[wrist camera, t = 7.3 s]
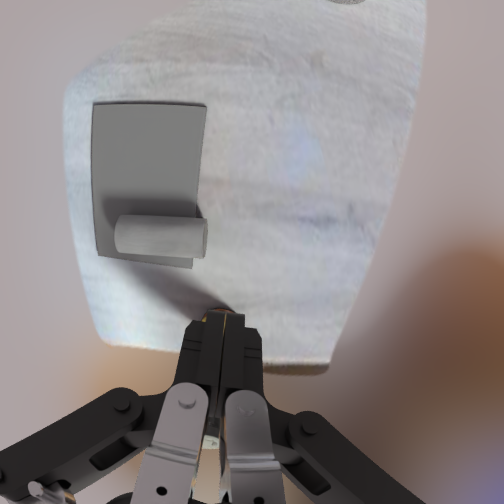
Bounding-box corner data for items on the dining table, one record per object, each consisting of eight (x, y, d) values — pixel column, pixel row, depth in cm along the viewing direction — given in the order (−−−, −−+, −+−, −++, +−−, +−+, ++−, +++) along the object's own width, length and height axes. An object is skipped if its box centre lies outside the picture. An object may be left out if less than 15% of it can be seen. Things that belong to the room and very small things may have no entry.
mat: (96, 105, 27) (93, 105, 26) (207, 107, 28) (206, 107, 28) (99, 253, 37) (98, 255, 36) (192, 266, 38) (191, 268, 37)
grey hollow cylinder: (208, 215, 34) (127, 211, 34) (203, 223, 30) (112, 218, 29) (207, 251, 35) (128, 246, 35) (202, 264, 31) (114, 257, 31)
